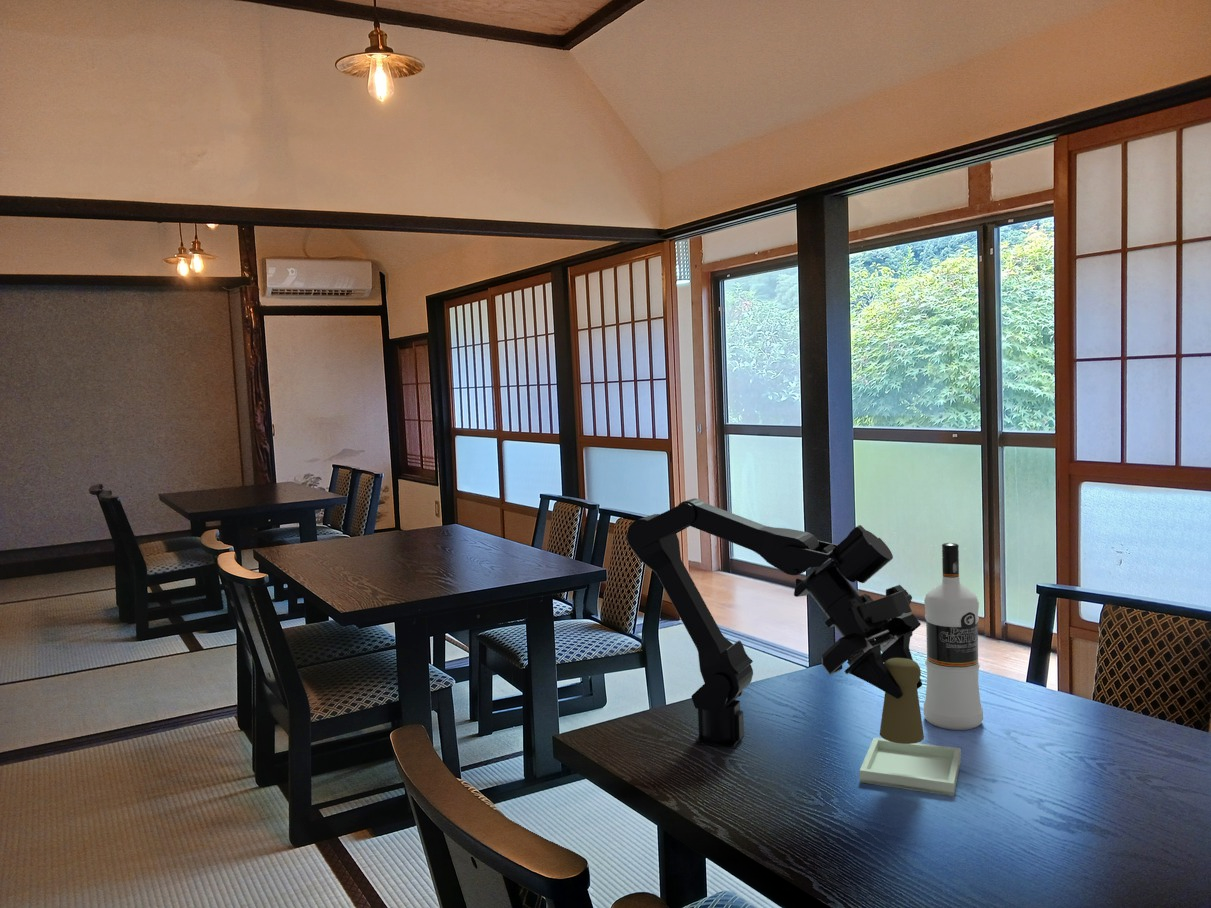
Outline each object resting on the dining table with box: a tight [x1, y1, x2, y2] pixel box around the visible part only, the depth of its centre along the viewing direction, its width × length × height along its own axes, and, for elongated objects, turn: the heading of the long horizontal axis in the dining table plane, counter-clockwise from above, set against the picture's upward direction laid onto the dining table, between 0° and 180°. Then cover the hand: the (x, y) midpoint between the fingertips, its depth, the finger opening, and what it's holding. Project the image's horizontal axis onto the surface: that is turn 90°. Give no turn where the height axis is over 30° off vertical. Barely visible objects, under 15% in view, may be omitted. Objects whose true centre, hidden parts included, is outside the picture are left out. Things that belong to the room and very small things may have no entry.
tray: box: [859, 737, 962, 797], centre depth 131 cm, size 13×13×2 cm
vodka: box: [923, 542, 984, 731], centre depth 148 cm, size 9×9×30 cm
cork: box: [879, 658, 925, 744], centre depth 127 cm, size 6×6×11 cm
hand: (910, 691), depth 126 cm, fingers closed on cork, 5 cm apart
